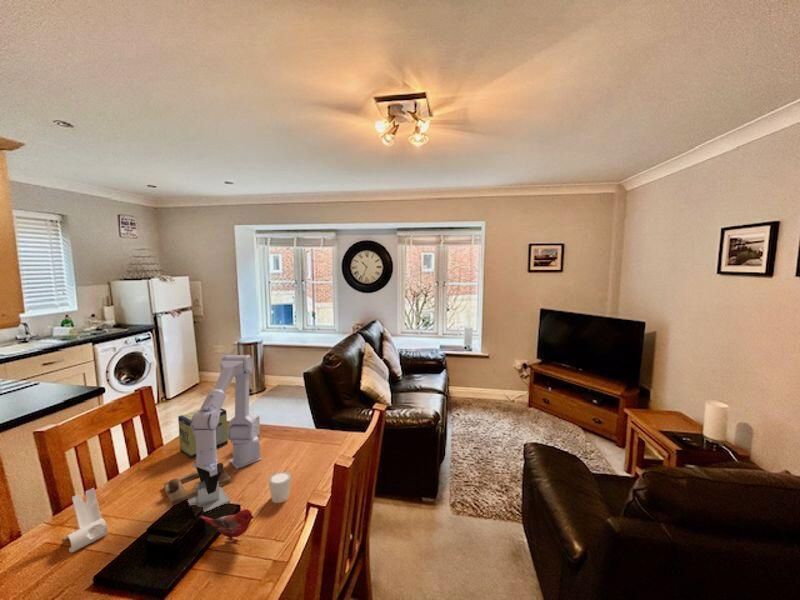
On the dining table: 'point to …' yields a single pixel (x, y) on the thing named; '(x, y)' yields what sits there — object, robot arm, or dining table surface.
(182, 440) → the protein box
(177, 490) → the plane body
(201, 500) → the lever cap
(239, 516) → the decorative bird figurine
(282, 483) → the white cylinder
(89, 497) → the plastic part
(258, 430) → the skincare box
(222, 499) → the grey square tile
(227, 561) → the dining table surface
